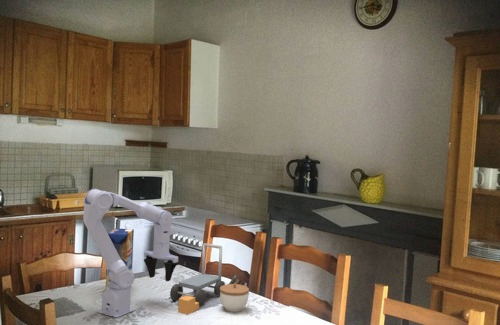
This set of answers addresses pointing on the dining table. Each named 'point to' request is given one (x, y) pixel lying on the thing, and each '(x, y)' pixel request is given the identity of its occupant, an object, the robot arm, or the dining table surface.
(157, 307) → the dining table surface
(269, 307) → the dining table surface
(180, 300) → the block
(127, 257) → the juice carton
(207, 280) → the trolley
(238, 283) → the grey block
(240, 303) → the lidded jar
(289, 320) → the dining table surface
